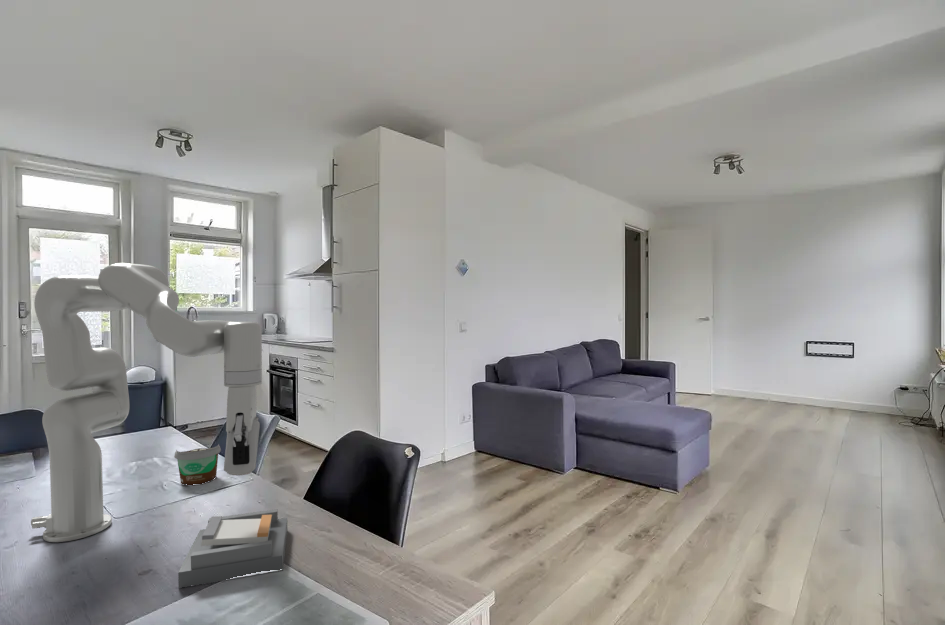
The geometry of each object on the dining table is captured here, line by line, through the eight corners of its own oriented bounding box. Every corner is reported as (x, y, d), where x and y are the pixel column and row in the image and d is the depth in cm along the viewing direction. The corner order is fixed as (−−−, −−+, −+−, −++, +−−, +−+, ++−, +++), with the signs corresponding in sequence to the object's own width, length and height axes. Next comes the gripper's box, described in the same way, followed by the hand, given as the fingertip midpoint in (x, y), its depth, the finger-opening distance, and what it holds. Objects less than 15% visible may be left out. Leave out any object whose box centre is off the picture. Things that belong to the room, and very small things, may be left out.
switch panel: (178, 588, 90) (177, 559, 90) (200, 543, 107) (199, 518, 107) (282, 570, 96) (281, 543, 95) (287, 530, 113) (286, 507, 113)
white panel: (201, 545, 95) (202, 535, 95) (210, 525, 104) (211, 516, 104) (267, 542, 99) (268, 532, 99) (270, 523, 107) (271, 514, 107)
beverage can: (242, 478, 103) (248, 422, 103) (216, 473, 104) (221, 418, 104) (261, 469, 109) (266, 416, 109) (236, 465, 111) (241, 413, 111)
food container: (173, 490, 139) (172, 455, 139) (174, 483, 144) (174, 449, 144) (221, 482, 144) (220, 448, 144) (221, 475, 150) (220, 443, 150)
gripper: (231, 372, 114) (231, 449, 114) (216, 385, 97) (216, 474, 97) (265, 371, 116) (266, 446, 116) (256, 383, 99) (257, 470, 100)
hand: (243, 458), depth 107 cm, fingers closed on beverage can, 6 cm apart
